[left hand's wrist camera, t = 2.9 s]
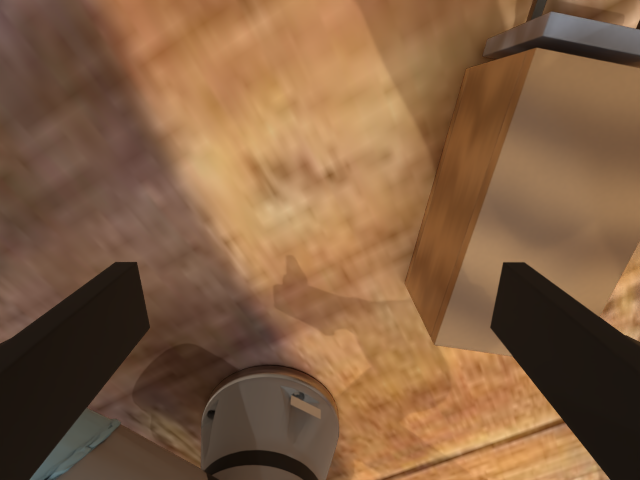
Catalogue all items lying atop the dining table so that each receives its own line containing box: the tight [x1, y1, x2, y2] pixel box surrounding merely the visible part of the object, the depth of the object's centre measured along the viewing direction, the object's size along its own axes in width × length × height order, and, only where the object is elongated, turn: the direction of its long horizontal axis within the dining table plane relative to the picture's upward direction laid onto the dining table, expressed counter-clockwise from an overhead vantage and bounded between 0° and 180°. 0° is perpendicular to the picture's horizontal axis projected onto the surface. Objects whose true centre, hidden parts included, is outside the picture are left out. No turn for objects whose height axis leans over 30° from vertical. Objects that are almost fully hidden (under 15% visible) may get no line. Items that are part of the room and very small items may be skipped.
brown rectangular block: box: [405, 48, 640, 356], centre depth 26 cm, size 19×11×10 cm, turn 170°
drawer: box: [483, 0, 640, 68], centre depth 25 cm, size 23×10×8 cm, turn 170°
